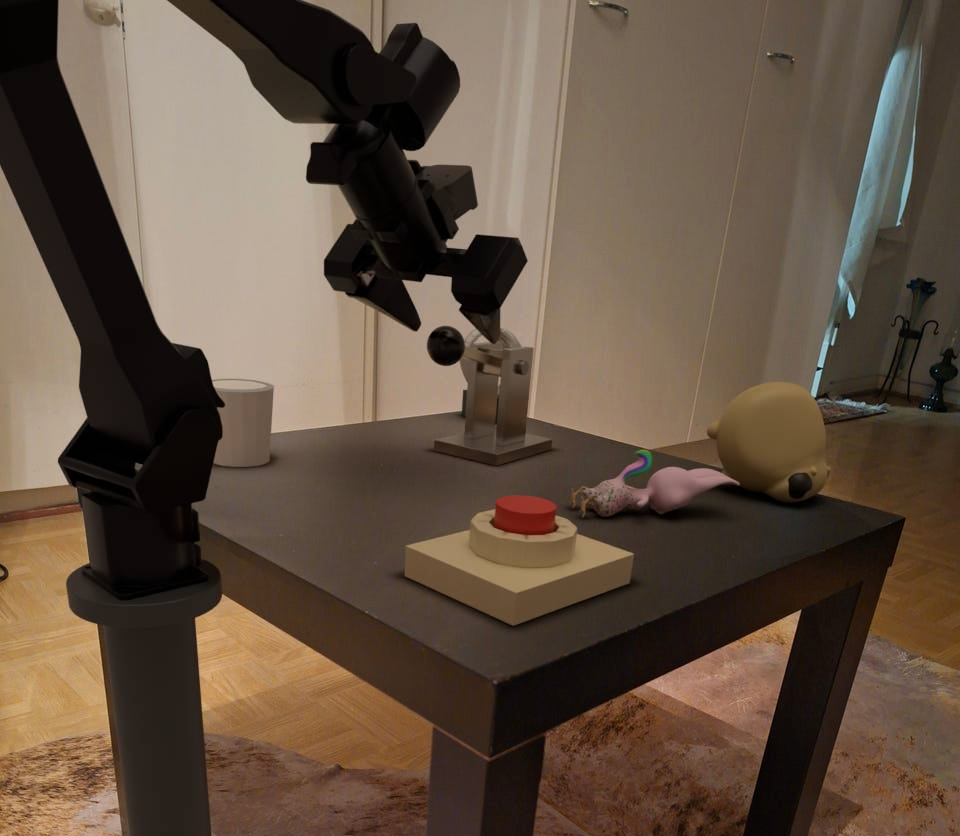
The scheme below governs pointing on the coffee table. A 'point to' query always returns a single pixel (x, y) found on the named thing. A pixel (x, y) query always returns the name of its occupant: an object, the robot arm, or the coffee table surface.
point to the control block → (517, 568)
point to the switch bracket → (512, 412)
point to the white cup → (244, 422)
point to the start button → (525, 515)
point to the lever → (460, 350)
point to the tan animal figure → (773, 442)
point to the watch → (506, 342)
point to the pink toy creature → (650, 488)
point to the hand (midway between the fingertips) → (456, 333)
